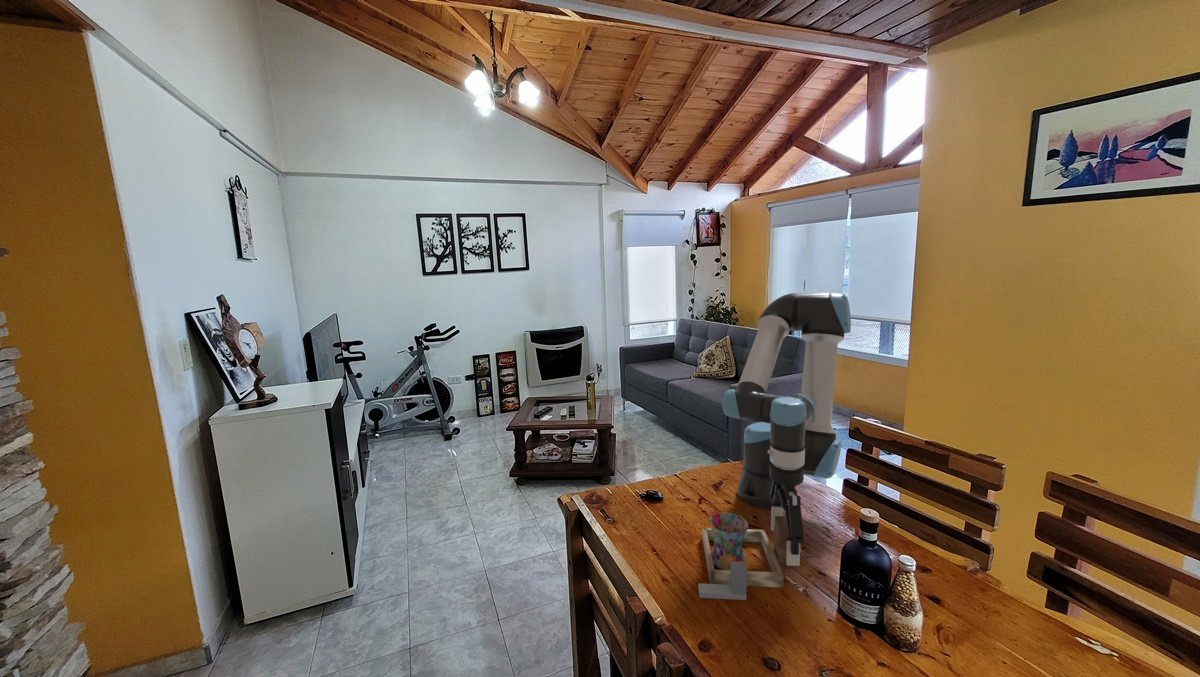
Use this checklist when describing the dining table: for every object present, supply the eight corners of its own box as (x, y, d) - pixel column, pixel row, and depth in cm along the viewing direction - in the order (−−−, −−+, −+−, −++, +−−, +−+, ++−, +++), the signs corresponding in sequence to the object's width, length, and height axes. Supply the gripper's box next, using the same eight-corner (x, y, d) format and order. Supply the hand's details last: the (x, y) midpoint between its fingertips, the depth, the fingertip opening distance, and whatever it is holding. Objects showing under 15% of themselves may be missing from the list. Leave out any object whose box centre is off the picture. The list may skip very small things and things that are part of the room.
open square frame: (780, 540, 118) (781, 501, 117) (802, 588, 101) (804, 543, 99) (702, 538, 121) (702, 499, 119) (710, 584, 103) (710, 540, 101)
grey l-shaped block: (743, 590, 101) (744, 561, 100) (746, 600, 98) (746, 569, 97) (698, 588, 102) (698, 559, 101) (699, 597, 99) (699, 567, 98)
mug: (737, 580, 104) (738, 538, 102) (701, 564, 110) (701, 524, 108) (758, 554, 113) (758, 515, 111) (723, 541, 119) (723, 503, 117)
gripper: (758, 443, 118) (756, 518, 122) (785, 488, 94) (782, 580, 97) (787, 443, 118) (785, 518, 121) (822, 489, 93) (819, 582, 96)
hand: (784, 546), depth 109 cm, fingers open, 13 cm apart
